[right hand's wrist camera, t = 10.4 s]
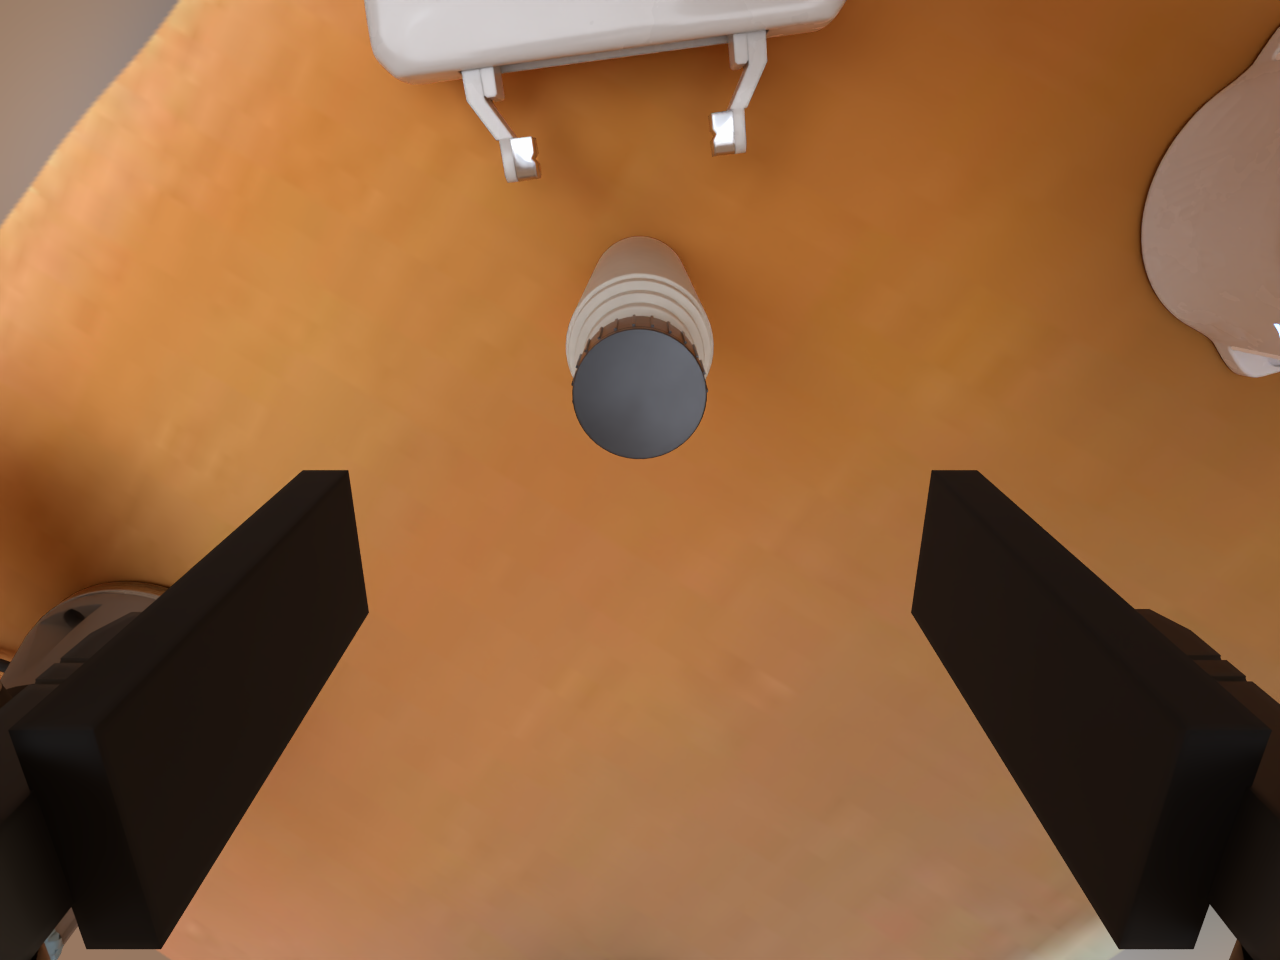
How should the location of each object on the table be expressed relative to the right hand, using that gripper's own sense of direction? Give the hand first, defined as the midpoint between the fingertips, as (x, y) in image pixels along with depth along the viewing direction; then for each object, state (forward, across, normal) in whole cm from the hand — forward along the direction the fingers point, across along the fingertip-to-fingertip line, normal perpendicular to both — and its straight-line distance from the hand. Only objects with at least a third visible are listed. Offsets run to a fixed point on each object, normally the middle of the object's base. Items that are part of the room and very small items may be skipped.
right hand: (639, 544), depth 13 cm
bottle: (+33, 0, 0) cm, 33 cm away
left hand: (+27, -1, +6) cm, 27 cm away
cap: (+10, 0, 0) cm, 10 cm away
